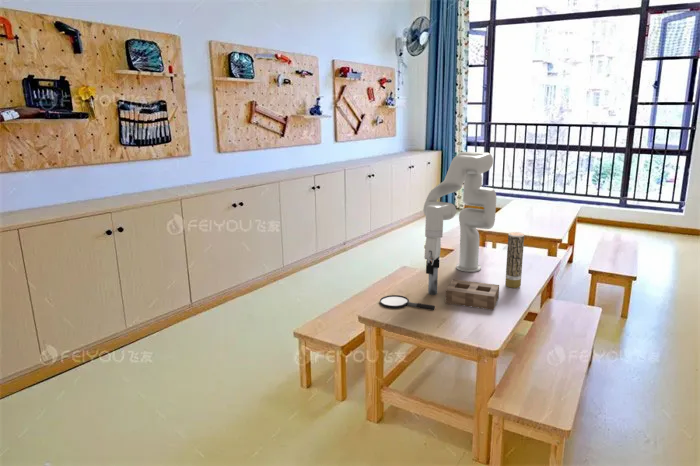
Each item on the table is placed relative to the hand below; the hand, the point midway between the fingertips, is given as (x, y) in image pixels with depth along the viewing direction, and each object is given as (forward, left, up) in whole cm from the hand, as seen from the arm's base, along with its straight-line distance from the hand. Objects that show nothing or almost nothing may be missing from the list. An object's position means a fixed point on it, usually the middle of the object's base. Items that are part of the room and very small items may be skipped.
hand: (432, 270), depth 215 cm
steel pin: (-1, 0, -11) cm, 11 cm away
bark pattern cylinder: (-23, +32, -11) cm, 41 cm away
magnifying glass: (+16, -6, -12) cm, 21 cm away
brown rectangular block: (+1, +18, -11) cm, 21 cm away
